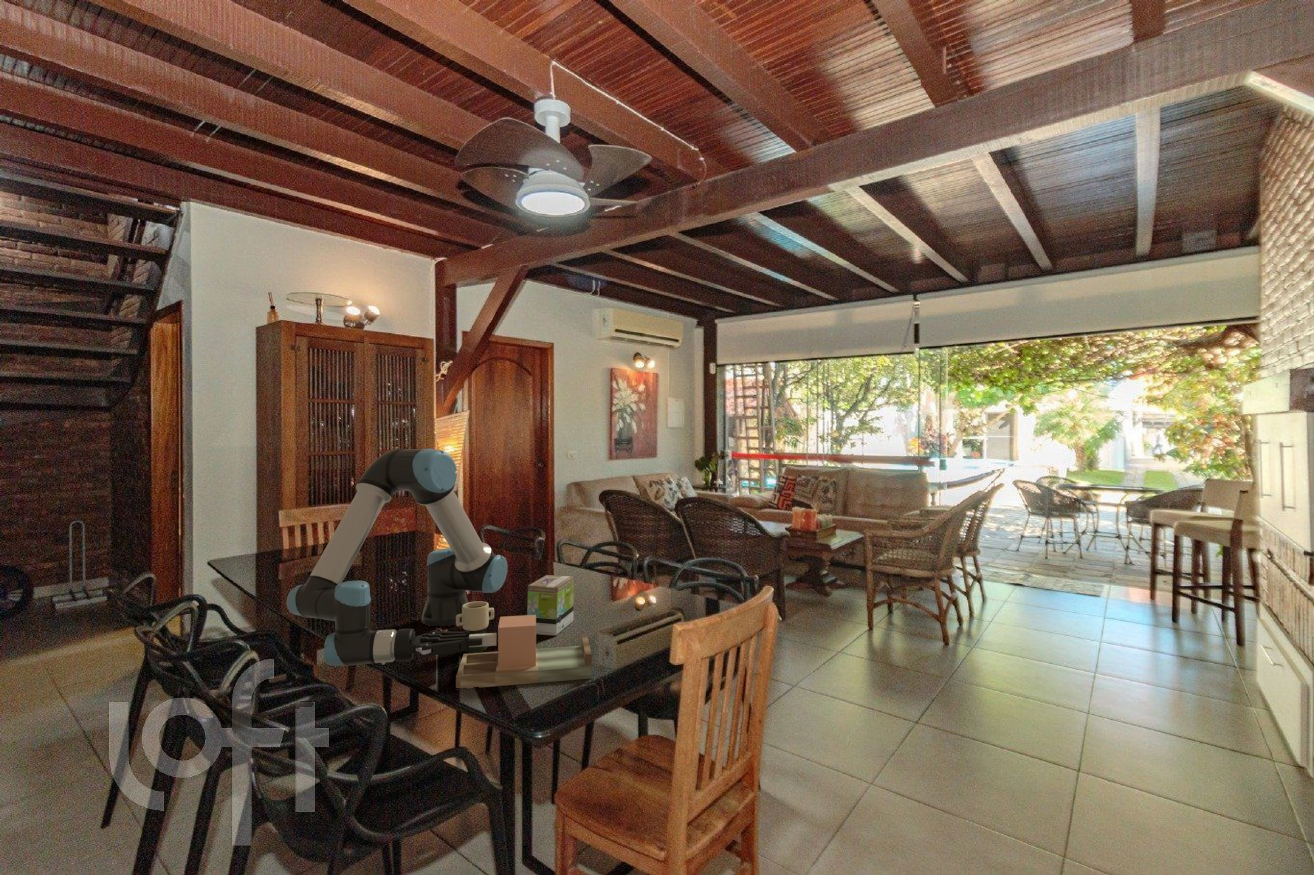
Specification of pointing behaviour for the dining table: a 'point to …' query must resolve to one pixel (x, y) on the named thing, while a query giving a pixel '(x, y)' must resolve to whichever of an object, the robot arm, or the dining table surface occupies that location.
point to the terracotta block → (517, 641)
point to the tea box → (551, 603)
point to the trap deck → (548, 667)
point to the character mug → (475, 620)
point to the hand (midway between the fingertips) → (496, 639)
